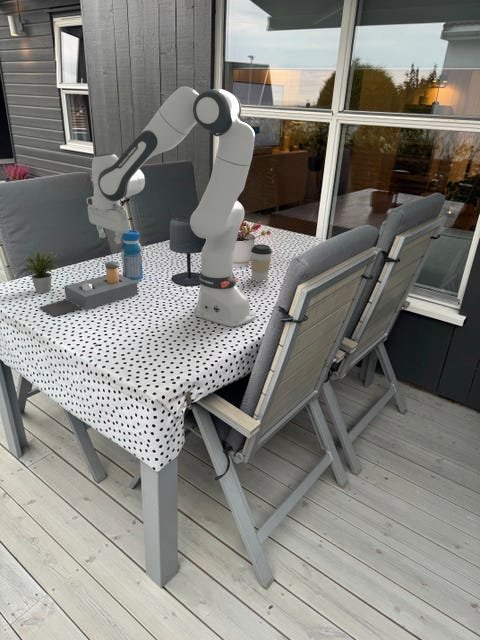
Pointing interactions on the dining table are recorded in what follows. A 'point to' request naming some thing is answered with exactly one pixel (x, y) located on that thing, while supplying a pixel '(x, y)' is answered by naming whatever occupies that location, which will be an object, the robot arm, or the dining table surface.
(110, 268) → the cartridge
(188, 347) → the dining table surface
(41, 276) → the house plant
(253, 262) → the coffee cup
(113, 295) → the housing
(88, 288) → the plunger
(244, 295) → the robot arm
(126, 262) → the beverage bottle
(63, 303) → the mat
